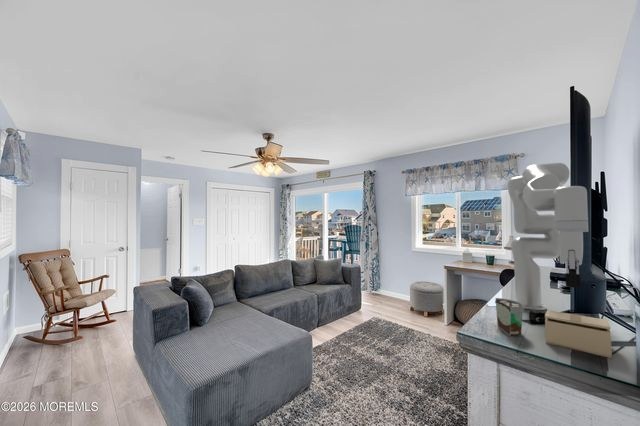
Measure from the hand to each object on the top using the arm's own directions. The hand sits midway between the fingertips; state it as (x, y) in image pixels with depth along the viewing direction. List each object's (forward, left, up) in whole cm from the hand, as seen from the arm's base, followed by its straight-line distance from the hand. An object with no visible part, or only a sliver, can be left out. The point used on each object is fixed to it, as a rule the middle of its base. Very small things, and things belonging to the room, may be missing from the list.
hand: (573, 286), depth 82 cm
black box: (-20, -11, -19) cm, 30 cm away
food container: (-2, -16, -19) cm, 24 cm away
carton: (-4, 0, -18) cm, 19 cm away
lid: (-3, 0, -11) cm, 11 cm away
